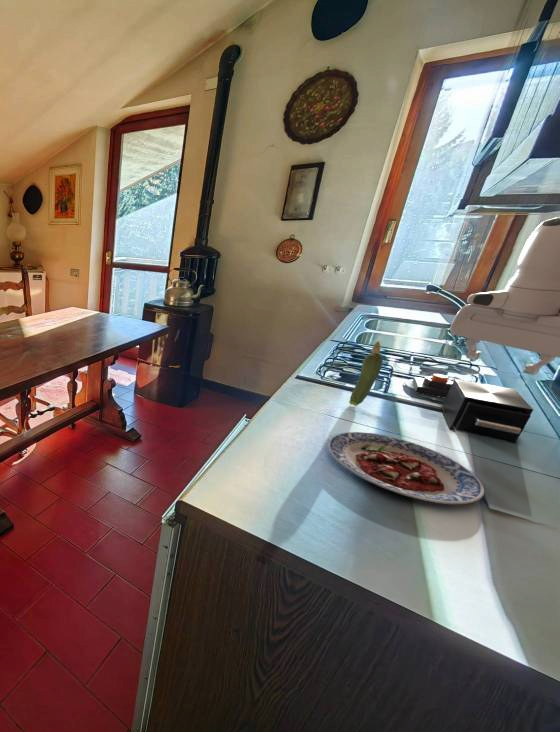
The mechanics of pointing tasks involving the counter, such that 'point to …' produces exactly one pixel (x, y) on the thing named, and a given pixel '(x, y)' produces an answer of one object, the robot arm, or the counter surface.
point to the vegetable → (367, 375)
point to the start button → (440, 378)
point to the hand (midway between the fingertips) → (499, 365)
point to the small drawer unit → (492, 421)
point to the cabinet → (479, 399)
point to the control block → (431, 386)
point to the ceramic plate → (406, 468)
